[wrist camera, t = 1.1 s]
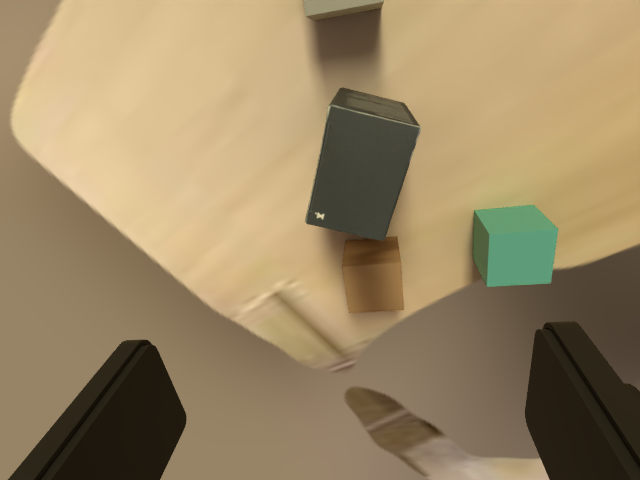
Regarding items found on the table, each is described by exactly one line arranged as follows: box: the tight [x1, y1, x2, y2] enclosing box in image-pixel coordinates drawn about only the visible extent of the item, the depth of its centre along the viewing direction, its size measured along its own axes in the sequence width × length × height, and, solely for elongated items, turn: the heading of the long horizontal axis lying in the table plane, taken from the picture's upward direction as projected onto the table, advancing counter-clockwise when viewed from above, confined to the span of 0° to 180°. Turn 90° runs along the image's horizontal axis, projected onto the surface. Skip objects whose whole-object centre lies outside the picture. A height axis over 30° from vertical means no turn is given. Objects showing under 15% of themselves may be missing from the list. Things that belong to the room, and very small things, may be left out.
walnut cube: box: [342, 237, 404, 313], centre depth 36 cm, size 5×5×5 cm
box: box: [305, 88, 421, 241], centre depth 28 cm, size 8×6×11 cm
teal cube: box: [473, 205, 558, 287], centre depth 33 cm, size 5×5×5 cm
